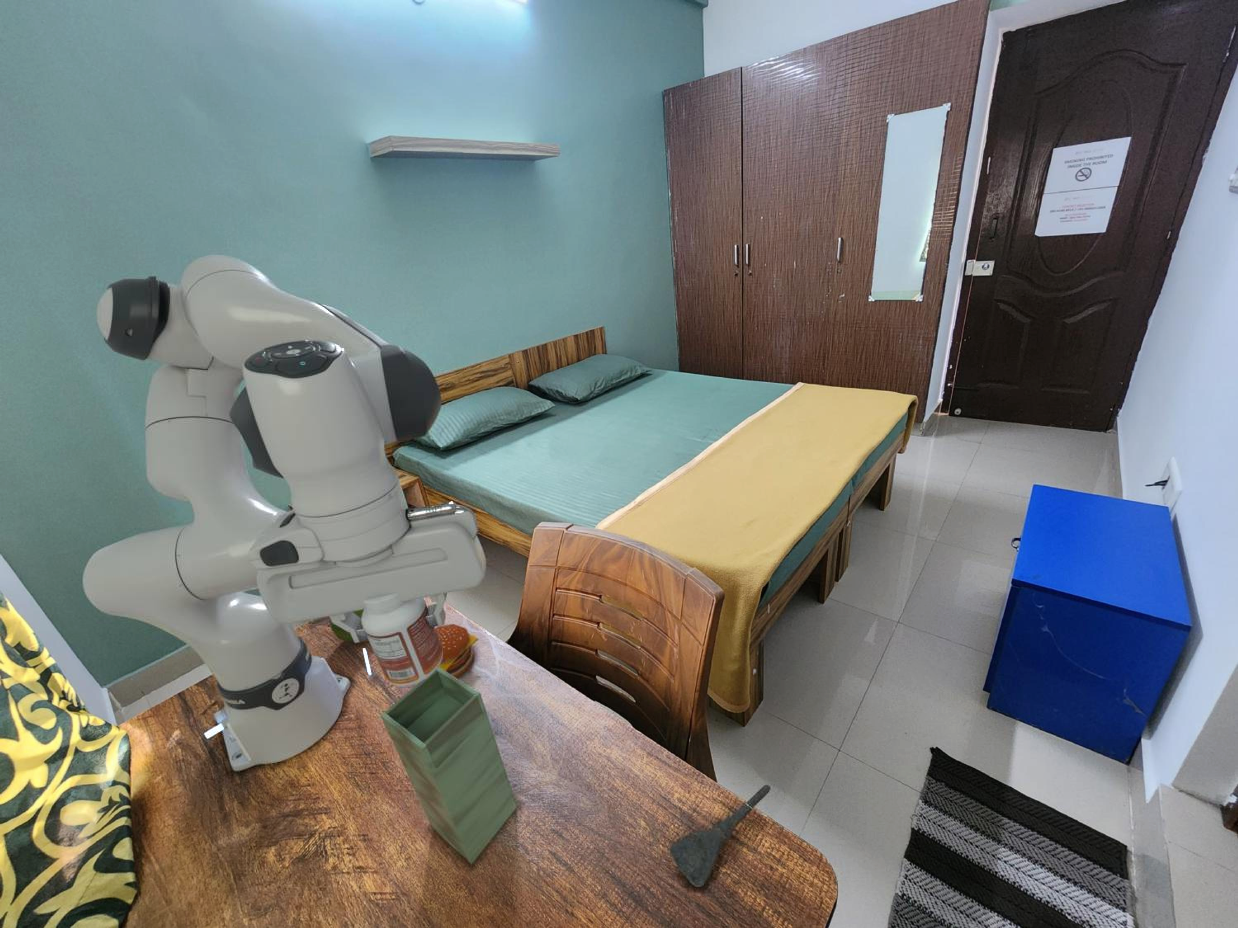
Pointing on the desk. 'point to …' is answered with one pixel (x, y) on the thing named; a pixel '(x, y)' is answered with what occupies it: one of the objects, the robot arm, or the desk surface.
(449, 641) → the hamburger
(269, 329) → the robot arm
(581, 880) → the desk surface
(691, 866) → the artifact
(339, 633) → the green mango
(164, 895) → the desk surface
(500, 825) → the holder
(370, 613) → the pill bottle
